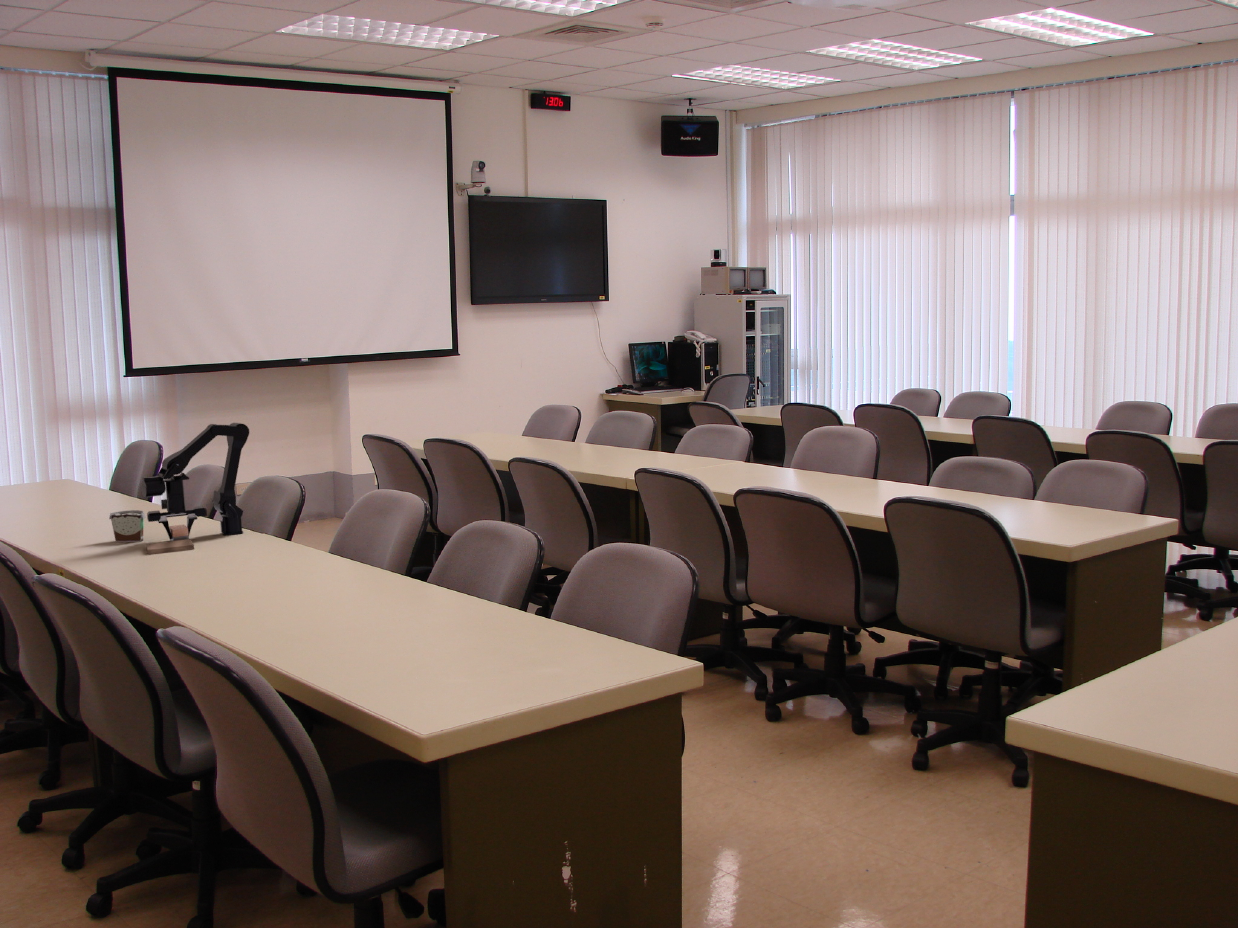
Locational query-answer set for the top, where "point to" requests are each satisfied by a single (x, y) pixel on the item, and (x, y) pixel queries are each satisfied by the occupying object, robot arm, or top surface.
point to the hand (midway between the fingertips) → (179, 538)
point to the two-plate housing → (179, 532)
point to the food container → (128, 525)
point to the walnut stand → (169, 546)
